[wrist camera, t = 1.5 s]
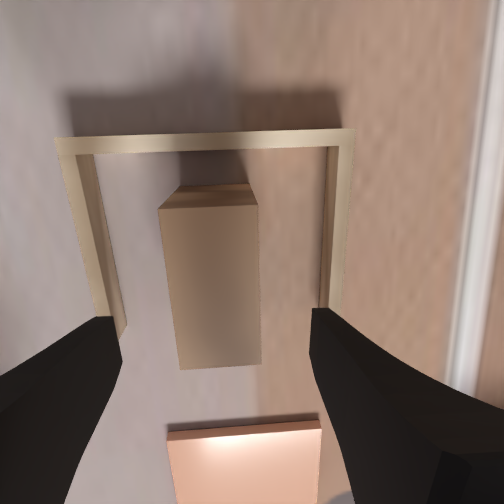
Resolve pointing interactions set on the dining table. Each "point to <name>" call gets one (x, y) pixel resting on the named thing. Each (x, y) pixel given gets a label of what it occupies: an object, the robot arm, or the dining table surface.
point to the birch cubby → (82, 149)
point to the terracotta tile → (247, 464)
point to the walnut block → (213, 274)
